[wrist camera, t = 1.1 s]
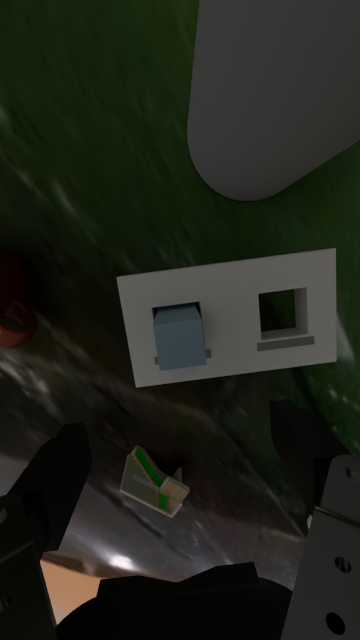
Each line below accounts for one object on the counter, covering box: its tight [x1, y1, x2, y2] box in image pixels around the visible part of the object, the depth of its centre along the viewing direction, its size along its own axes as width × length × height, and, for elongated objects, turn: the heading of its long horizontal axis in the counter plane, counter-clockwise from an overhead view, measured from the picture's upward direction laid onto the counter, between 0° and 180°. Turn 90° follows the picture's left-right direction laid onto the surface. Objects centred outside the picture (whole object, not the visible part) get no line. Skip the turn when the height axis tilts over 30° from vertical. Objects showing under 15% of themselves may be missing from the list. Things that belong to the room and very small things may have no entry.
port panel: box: [116, 248, 336, 387], centre depth 30 cm, size 12×22×3 cm, turn 97°
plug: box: [153, 302, 207, 380], centre depth 27 cm, size 5×4×9 cm
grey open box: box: [120, 445, 189, 518], centre depth 32 cm, size 4×7×8 cm, turn 57°
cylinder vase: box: [187, 0, 360, 201], centre depth 15 cm, size 12×12×25 cm
